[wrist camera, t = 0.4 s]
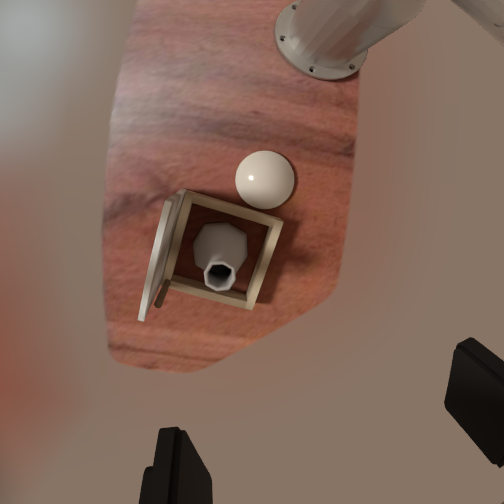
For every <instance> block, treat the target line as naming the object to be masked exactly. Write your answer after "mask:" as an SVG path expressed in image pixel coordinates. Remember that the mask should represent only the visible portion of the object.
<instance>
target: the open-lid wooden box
mask: <svg viewBox="0 0 504 504" xmlns="http://www.w3.org/2000/svg"><path fill="white" fill-rule="evenodd" d="M192 203H194V204H198V205H201V206H204V207H208V208H211V209H214V210H218V211H221V212H224V213H228V214H231V215H234V216H238V217H241V218H244V219H247V220H251V221H254V222H257V223H260V224H264V225H267V226H269V228H268V231H267V234H266V237H265V240H264V243H263V246H262V248H261V251H260V254H259V257H258V260H257V263H256V266H255V269H254V272H253V274H252V277H251V280H250V283H249V286H248V289H247V292H246V294H244V293H240V292H236V291H233V290H224V291H215V290H214V289H212V288H210V287H208V286H206V285H205V283H204V282H200V281H197V280H193V279H190V278H186V277H183V276H179V275H176V274H173V272H174V269H175V265H176V261H177V257H178V253H179V250H180V246H181V242H182V239H183V235H184V231H185V228H186V224H187V221H188V217H189V214H190V210H191V207H192ZM283 223H284V222H283V221H282V220H281V219H280V218H277V217H274V216H271V215H268V214H265V213H262V212H259V211H255V210H252V209H249V208H246V207H242V206H239V205H236V204H233V203H229V202H226V201H223V200H220V199H216V198H213V197H210V196H206V195H203V194H199V193H196V192H193V191H189V190H188V191H187V190H186V189H181V190H180V191H178V192H177V193H175V194H174V195H172V196H171V197H169V198H168V199H166V200H165V203H164V207H163V211H162V214H161V218H160V222H159V226H158V230H157V234H156V238H155V242H154V246H153V250H152V254H151V259H150V263H149V268H148V272H147V277H146V281H145V286H144V291H143V296H142V301H141V306H140V311H139V316H138V320H140V321H143V322H144V320H145V317H146V315H147V313H148V311H149V308H150V306H151V304H152V302H153V300H154V298H155V295H156V293H157V291H158V289H159V287H160V285H161V286H162V288H161V290H160V292H159V294H158V296H157V299H156V301H155V303H154V305H155V307H156V308H160V307H161V306H162V303H163V301H164V298H165V296H166V293H167V291H168V288H171V289H174V290H178V291H181V292H185V293H188V294H192V295H196V296H199V297H203V298H206V299H210V300H214V301H217V302H221V303H225V304H229V305H233V306H236V307H240V308H244V309H248V310H253V307H254V304H255V301H256V299H257V296H258V293H259V290H260V288H261V285H262V282H263V279H264V276H265V274H266V271H267V268H268V265H269V263H270V260H271V257H272V254H273V251H274V248H275V246H276V243H277V240H278V237H279V234H280V231H281V229H282V226H283Z"/></svg>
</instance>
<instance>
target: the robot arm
mask: <svg viewBox="0 0 504 504" xmlns="http://www.w3.org/2000/svg"><path fill="white" fill-rule="evenodd" d="M425 1H426V0H298V1H296V2H293V3H291V4H290V5H288V6H287V7H286V8H285V9H284V10H283V11H282V12H281V13H280V15H279V17H278V19H277V21H276V24H275V30H274V34H275V41H276V44H277V47H278V49H279V51H280V53H281V55H282V56H283V57H284V58H285V60H286V61H287V62H288V63H289V64H290V65H291V66H293V67H294V68H295V69H297V70H298V71H300V72H301V73H303V74H305V75H307V76H310V77H313V78H316V79H320V80H338V79H342V78H345V77H347V76H349V75H351V74H353V73H355V72H356V71H357V70H358V69H359V68H360V67H361V66H362V65H363V63H364V61H365V59H366V56H367V52H368V48H370V47H371V46H373V45H374V44H376V43H377V42H379V41H380V40H382V39H383V38H385V37H386V36H388V35H389V34H391V33H393V32H394V31H396V30H397V29H399V28H400V27H402V26H403V25H405V24H406V23H408V22H410V21H411V20H413V19H414V18H415V17H416V16H417V15H418V14H419V13H420V12H421V10H422V9H423V7H424V4H425ZM451 1H452V2H453V3H455V4H456V5H457V6H458V7H460V8H461V9H462V10H463V11H464V12H466V13H467V14H468V15H469V16H470V17H471V18H473V19H474V20H475V21H476V22H477V23H478V24H479V25H481V26H482V27H483V28H484V29H485V30H486V31H487V32H488V33H489V34H491V36H493V37H494V38H495V39H496V40H497V41H498V42H499V43H500V44H501V45H503V46H504V0H451ZM294 9H295V10H294ZM280 39H282V40H283V41H281V40H280ZM349 67H350V68H351V69H350V68H349ZM310 69H311V70H312V72H311V71H310ZM444 404H445V408H446V410H447V411H448V412H449V413H450V414H451V415H452V417H453V418H454V419H455V420H456V421H457V422H458V424H459V425H460V426H461V427H462V428H463V429H464V431H465V432H466V433H467V434H468V435H469V436H470V438H471V439H472V440H473V441H474V443H475V444H476V445H477V446H478V447H479V449H480V450H481V451H482V452H483V453H484V455H485V456H486V457H487V458H488V459H489V461H490V462H491V463H492V464H497V466H498V467H499V468H501V467H502V466H504V361H503V360H501V359H500V358H499V357H498V356H496V355H495V354H494V353H492V352H491V351H490V350H489V349H487V348H486V347H485V346H483V345H482V344H481V343H479V342H478V341H477V340H475V339H474V338H471V337H470V338H468V339H466V340H464V341H462V342H460V343H458V344H457V346H456V349H455V350H454V353H453V360H452V366H451V371H450V377H449V382H448V387H447V392H446V396H445V401H444ZM139 504H213V498H212V479H211V476H210V474H209V472H208V470H207V468H206V467H205V465H204V463H203V462H202V460H201V458H200V456H199V455H198V453H197V451H196V449H195V447H194V445H193V444H192V442H191V440H190V438H189V436H188V434H187V432H186V431H185V430H180V429H179V428H178V427H170V428H161V429H160V430H159V434H158V439H157V445H156V451H155V457H154V463H153V466H149V467H147V468H146V469H145V471H144V475H143V481H142V486H141V492H140V499H139ZM502 504H504V502H503V503H502Z"/></svg>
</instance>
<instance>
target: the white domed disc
mask: <svg viewBox="0 0 504 504" xmlns="http://www.w3.org/2000/svg"><path fill="white" fill-rule="evenodd" d="M235 181H236V187H237V190H238V193H239V194H240V196H241V198H242V199H243V200H244V201H245V202H246V203H248V204H249V205H251V206H253V207H255V208H259V209H271V208H275V207H277V206H279V205H281V204H282V203H283V202H285V201H286V200H287V199H288V197H289V196H290V194H291V192H292V190H293V187H294V173H293V170H292V167H291V166H290V164H289V163H288V161H287V160H286V159H285V158H284V157H282V156H281V155H279V154H277V153H275V152H271V151H259V152H255V153H253V154H251V155H249V156H247V157H246V158H245V159H244V160H243V161H242V162H241V164H240V165H239V167H238V169H237V172H236V178H235Z"/></svg>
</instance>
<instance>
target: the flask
mask: <svg viewBox="0 0 504 504" xmlns="http://www.w3.org/2000/svg"><path fill="white" fill-rule="evenodd" d="M193 252H194V260H195V265H196V266H198V267H200V268H201V269H203V270H205V271H204V277H205V285H206V286H208V287H210V288H212V289H214V290H215V291H224V290H229V289H230V288H231V286H232V285H233V283H234V282H235V280H236V275H235V274H236V273H237V272H238V270H239V269H240V267H241V266H242V264H243V263H244V261H245V260H246V258H247V257H248V248H247V234H246V233H244V232H243V231H241V230H239V229H238V228H236V227H234V226H233V225H231V224H230V223H228V222H222V223H210V224H204V225H203V227H202V228H201V230H200V232H199V233H198V235H197V237H196V238H195V240H194V241H193Z"/></svg>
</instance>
